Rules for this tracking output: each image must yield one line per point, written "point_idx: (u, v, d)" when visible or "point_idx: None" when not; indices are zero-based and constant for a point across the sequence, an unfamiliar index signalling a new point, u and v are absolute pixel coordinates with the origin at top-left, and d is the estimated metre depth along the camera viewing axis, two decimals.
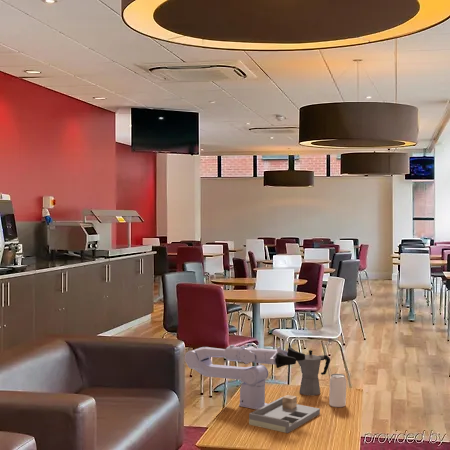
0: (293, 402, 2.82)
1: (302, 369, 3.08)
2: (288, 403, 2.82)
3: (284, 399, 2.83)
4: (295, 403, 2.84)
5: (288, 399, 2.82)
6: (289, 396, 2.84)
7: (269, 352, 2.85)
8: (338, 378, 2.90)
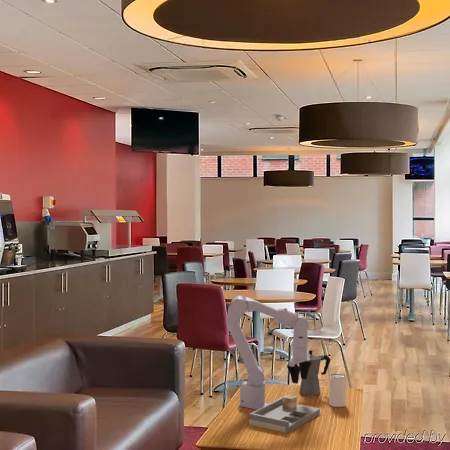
0: (293, 402, 2.82)
1: None
2: (288, 403, 2.82)
3: (284, 399, 2.83)
4: (295, 403, 2.84)
5: (288, 399, 2.82)
6: (289, 396, 2.84)
7: (302, 351, 2.87)
8: (338, 378, 2.90)
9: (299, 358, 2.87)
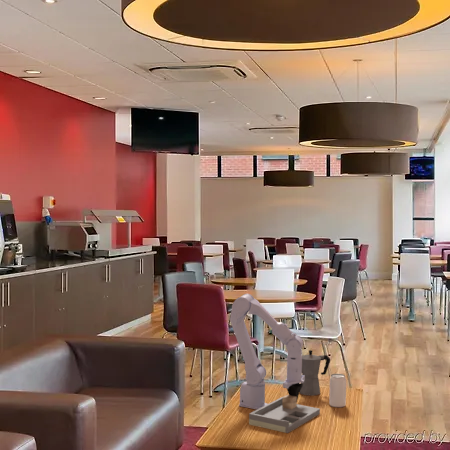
0: (293, 402, 2.82)
1: (302, 369, 3.08)
2: (288, 403, 2.82)
3: (284, 399, 2.83)
4: (295, 403, 2.84)
5: (288, 399, 2.82)
6: (289, 396, 2.84)
7: (297, 373, 2.83)
8: (338, 378, 2.90)
9: (293, 379, 2.84)
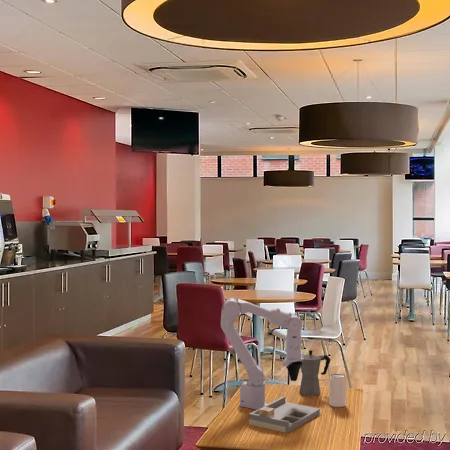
0: (270, 414, 2.67)
1: (302, 369, 3.08)
2: None
3: (261, 411, 2.68)
4: (273, 415, 2.69)
5: (265, 411, 2.67)
6: (266, 408, 2.69)
7: (296, 351, 2.87)
8: (338, 378, 2.90)
9: (293, 358, 2.87)
